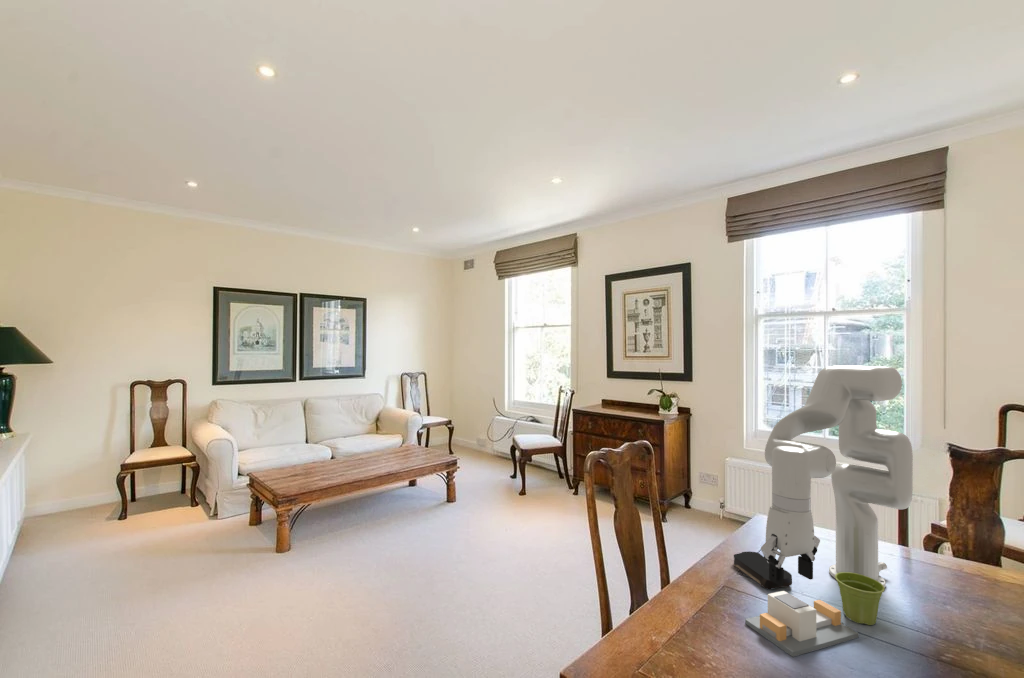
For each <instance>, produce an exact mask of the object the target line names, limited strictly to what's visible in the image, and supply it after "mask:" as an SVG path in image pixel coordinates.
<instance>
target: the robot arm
mask: <svg viewBox="0 0 1024 678" xmlns="http://www.w3.org/2000/svg"><path fill="white" fill-rule="evenodd" d="M900 374H901V373H900V372H899V371H898V370H897V369H896V368H894V367H893V366H879V365H878V366H876V365H874V366H873V365H870V366H869V365H854V364H853V365H851V364H850V365H846V364H842V365H839V364H838V365H831V366H825V367H824V368H822V369H821V370H819V372H818V374H817V375H816V378H815V381H814V383H813V385H812V388H811V390H810V392H809V395H808V397H807V399H806V401H805V405H804V406H802V407H799V408H798V409H796V410H794V411H792V412H791V413H788V414H787V415H785V416H784V417H783V418H781V419H779V421H777V422H776V424H775V425H774V427H773V428H772V430H771V433H770V434H769V437H768V439H767V442H766V443H765V444H766V445H765V448H764V459H765V462H766V463H767V465H769V466H770V467H771V506H769V509H768V512H767V513H768V514H767V519H766V527H765V542H764V544H762V546H761V547H760V551H761V553H762V556H763V557H764V558H765V559H766V560H767V562H768V563H769V579H770V581H772V582H774V583H776V584H778V585H779V586H783V585H784V570H785V568H784V567H783V564H784V562H785V559H786V558H790V557H794V556H798V557H797V573H798V574H799V575H800V576H802V577H804V578H806V579H808V580H813V579H814V562H815V560H816V557H815V555H816V553H818V548H819V545H820V543H821V539H820V538H819V537H817V536H816V535H815V526H814V525H815V524H814V519H813V512H812V507H811V505H812V502H811V500H812V499H811V498H812V495H811V493H812V491H811V490H812V489H811V488H812V486H811V484H812V483H811V482H812V481H811V480H812V479H823V478H828V477H829V476H830V475H831V478H830V479H831V484H832V490H833V495H834V503H835V508H834V509H835V564H832V565H830V566H829V567H828V571H829V574H830V576H831V577H833V578H834V579H835V575H836V574H837V573H840V572H851V573H857V574H861V575H864V576H867V577H870V578H872V579H874V580H876V581H878V582H880V583H881V584H882V585H883V586H884V587H885V588H886V586H887V585H886V583H887V582H886V579H885V578H883V577H882V576H881V575H880V572H882V571H884V570H887V569H888V565H887V564H886V563H885V562H884V561H880V562H879V519H878V517H877V514H876V512H875V511H874V509H873V507H872V506H871V505H876V506H880V507H885V508H890V509H892V510H893V509H896V510H905V509H908V508H909V507H910V505H912V500H913V488H914V487H913V485H914V484H913V479H914V477H913V469H914V468H913V463H914V462H913V460H914V459H913V458H914V457H913V455H914V454H913V446H912V442H911V441H910V438H909V437H908V436H907V435H906V434H905V433H902V432H899V431H896V430H888V429H883V428H882V429H880V428H878V426H877V410H876V407H875V406H874V404H873V403H872V402H884V401H889V400H893V399H895V398H896V397H897V396H899V394H900V393H901V390H902V385H903V382H902V381H903V380H902V376H901V375H900ZM837 426H838V449H839V452H840V455H842V456H843V457H844V458H846V459H849V460H852V461H853V460H854V461H856V462H857V461H859V462H864V463H869V464H875V465H882V466H885V467H886V468H887V469H886V470H884V469H881V468H873V467H868V466H864V465H863V466H862V465H860V464H854V463H853V464H852V463H842V464H838V465H837V459H836V456H835V453H833V451H832V450H831V449H830V448H828V447H826V446H824V445H820V444H815V443H809V442H808V443H807V442H803V441H797V440H793V439H794V438H796V437H797V436H800V435H804V434H806V433H807V434H808V433H810V432H816V431H817V432H818V431H821V430H822V431H823V430H827V429H831V428H832V429H833V428H834V427H837ZM870 504H871V505H870ZM778 550H779V551H778ZM776 555H777V556H778V558H777V559H776Z"/></svg>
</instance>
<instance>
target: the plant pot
mask: <svg viewBox="0 0 1024 678" xmlns="http://www.w3.org/2000/svg"><path fill="white" fill-rule="evenodd" d="M834 579H835V580H836V582H837V586H838V588H839V593H840V599H841V605H842V611H843V614H844V615H845V617H846V618H847V619H849V620H851V621H852V622H855V623H857V624H859V625H860V624H861V625H862V624H864V625H867V626H873V625H875V624H876V623H877V620H878V619H877V618H878V613H879V606H880V600H881V597H882V596H883V593H884V592H885V589H886V587H884V586H883V585H882V584H881V583H880V582H878V581H876V580H874V579H872V578H870V577H867V576H864V575H861V574H857V573H851V572H840V573H837V574H836V575H835V578H834Z"/></svg>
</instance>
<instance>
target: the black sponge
mask: <svg viewBox="0 0 1024 678" xmlns="http://www.w3.org/2000/svg"><path fill="white" fill-rule="evenodd" d="M733 559H734V560H733V567H736V568H738V569H739V570H740V571H741V572H743V573H744V574H746V575H747V576H748V577H750V578H751V579H753V580H754V581H755V582H756V583H758V584H760V587H762V588H764V589H765V590H775V589H777V588H787V587H790V586H792V585H793V575H792V574H791V572H789V571H788V570H786V569H784V585H783V586H779V585H778V584H776V583H774V582H772V581H770V579H769V563H768V562H767V560H766V559H765V558H764V555H763V554H761V553H759V552H756V551H742V552H739V553H736V554H733Z"/></svg>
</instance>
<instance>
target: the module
mask: <svg viewBox="0 0 1024 678" xmlns="http://www.w3.org/2000/svg"><path fill="white" fill-rule="evenodd" d="M813 607H814V606H812V607H811V605H810V604H809V603H807V602H804V601H803V600H801V599H799V598H798V597H796V596H794V595H793V594H791V593H788V592H787V591H785V590H780V591H775V592H771V593H768V594H767V613H768V614H769V615H771V616H773V617H774V618H776V619H777V620H779V621H780V622H782V623H783V624H785V625H786V626H788V627H789V628H791V629H792V637H793V638H795V639H796V640H798V641H799V642H800V641H803V640H807V639H811V638H815V637H816V609H815V608H813Z"/></svg>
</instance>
